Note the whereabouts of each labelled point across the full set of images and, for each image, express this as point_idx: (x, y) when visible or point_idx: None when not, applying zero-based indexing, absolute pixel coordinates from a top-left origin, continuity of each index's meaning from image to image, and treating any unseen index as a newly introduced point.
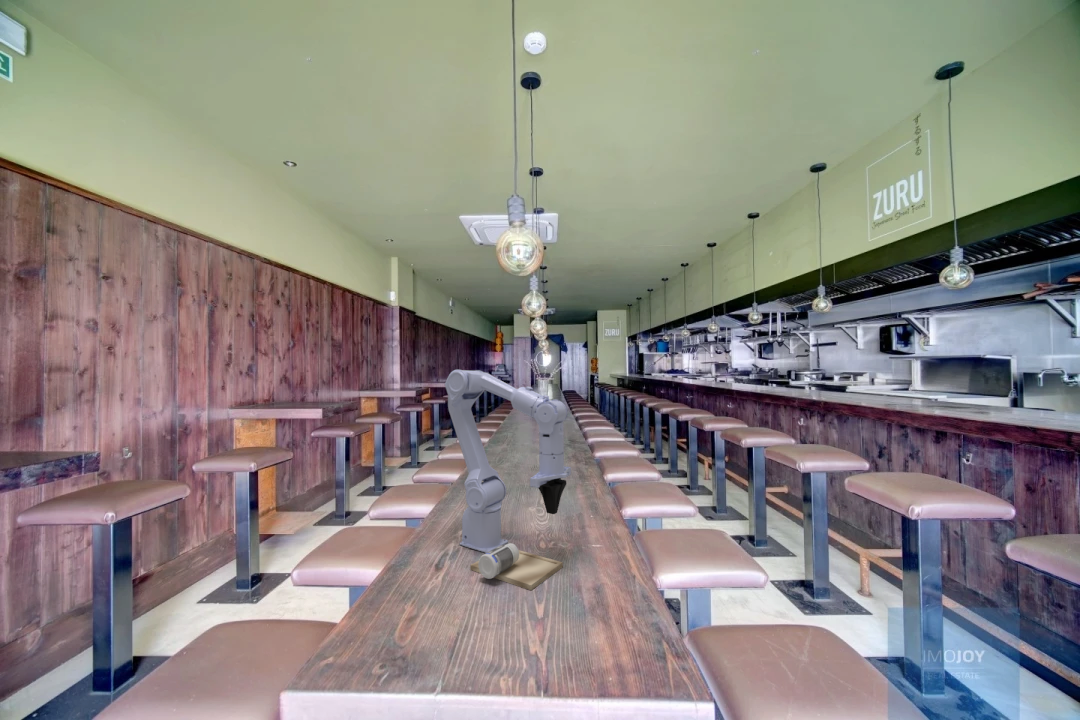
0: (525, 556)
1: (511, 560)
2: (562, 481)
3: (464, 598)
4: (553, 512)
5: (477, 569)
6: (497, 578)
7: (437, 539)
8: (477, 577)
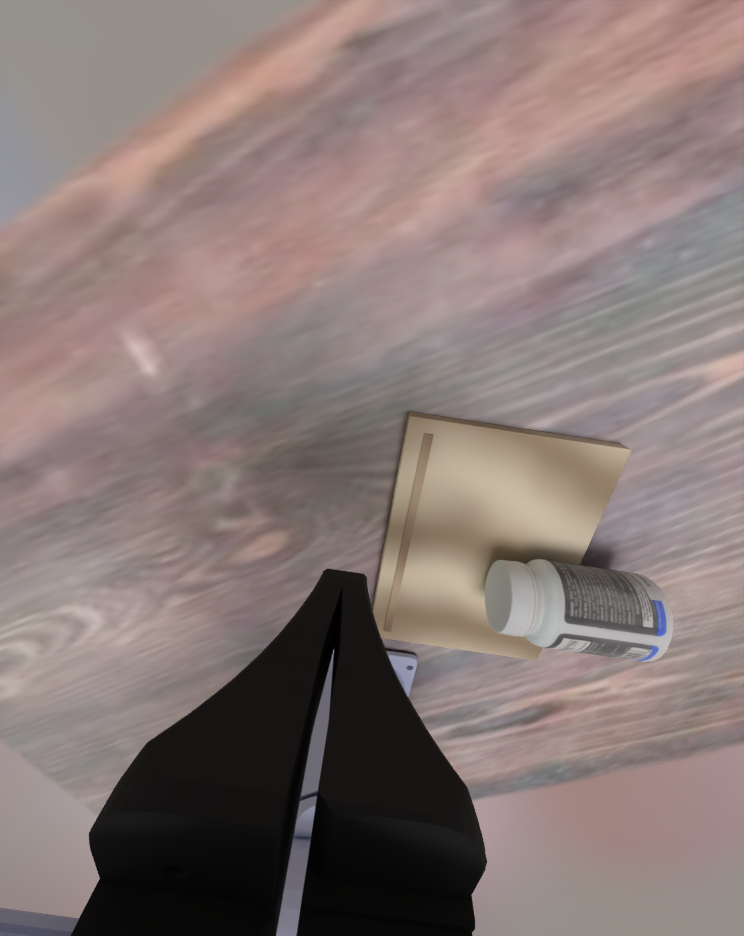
0: (417, 553)
1: (567, 570)
2: (197, 849)
3: (702, 589)
4: (366, 585)
5: None
6: None
7: None
8: None
